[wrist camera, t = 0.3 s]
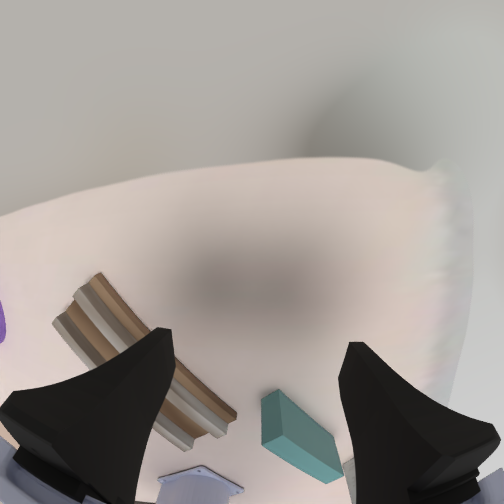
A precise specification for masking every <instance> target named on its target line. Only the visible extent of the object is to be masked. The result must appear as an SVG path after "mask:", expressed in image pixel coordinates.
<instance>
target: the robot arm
mask: <svg viewBox="0 0 504 504" xmlns="http://www.w3.org/2000/svg"><path fill="white" fill-rule="evenodd" d="M175 368H176V362H175V355H174V348H173V340H172V331H171V329H166V328H159V327H157V328H156V329H154V330H153V331H151V332H150V333H149V334H147V335H146V336H144V337H143V338H142V339H140V340H139V341H137V342H136V343H135V344H133V345H132V346H130V347H129V348H127V349H126V350H125V351H123V352H122V353H120V354H118V355H117V356H115V357H113V358H112V359H110V360H109V361H107V362H105V363H104V364H102V365H100V366H98V367H96V368H94V369H92V370H90V371H88V372H86V373H84V374H81V375H79V376H76V377H73V378H71V379H68V380H65V381H63V382H59V383H56V384H52V385H48V386H44V387H40V388H34V389H27V390H20V391H13V392H12V393H11V395H10V396H9V397H8V398H7V399H6V401H5V402H4V403H3V404H2V405H1V407H0V421H1V423H2V424H3V425H4V427H5V428H6V429H7V430H8V432H9V433H10V434H11V435H12V437H13V438H14V439H15V440H16V441H17V442H18V444H19V445H20V447H19V448H18V450H17V449H15V448H14V447H13V446H12V445H11V444H10V443H9V442H7V441H6V440H5V439H3V438H2V437H1V436H0V501H1V502H2V503H3V504H134V502H135V495H136V489H137V483H138V478H139V473H140V468H141V464H142V460H143V456H144V452H145V449H146V445H147V442H148V438H149V435H150V432H151V429H152V427H153V424H154V422H155V420H156V417H157V415H158V413H159V411H160V408H161V406H162V404H163V402H164V400H165V397H166V395H167V393H168V390H169V388H170V386H171V382H172V379H173V376H174V372H175ZM338 381H339V390H340V397H341V402H342V406H343V409H344V413H345V417H346V421H347V424H348V428H349V432H350V436H351V440H352V445H353V452H354V462H355V475H356V504H504V471H503V469H502V468H499V469H498V470H496V471H495V472H493V473H492V474H490V475H488V476H486V477H485V478H483V479H482V480H480V481H479V482H477V480H476V477H477V476H478V475H479V471H478V467H479V466H480V465H481V464H482V463H483V462H484V461H485V460H486V459H487V458H488V457H489V456H490V455H491V454H492V453H493V452H494V451H495V450H496V448H497V447H498V446H499V444H500V441H501V439H500V437H499V435H498V433H497V431H496V429H495V427H494V426H493V424H490V423H487V422H483V421H479V420H476V419H473V418H470V417H467V416H465V415H462V414H460V413H457V412H455V411H453V410H451V409H449V408H447V407H445V406H443V405H441V404H439V403H437V402H436V401H434V400H432V399H431V398H429V397H428V396H426V395H425V394H423V393H422V392H420V391H419V390H417V389H416V388H414V387H413V386H412V385H411V384H409V383H408V382H407V381H406V380H404V379H403V378H402V377H401V376H400V375H398V374H397V373H396V372H395V371H394V370H393V369H392V368H391V367H390V366H388V365H387V364H386V363H385V362H384V361H383V360H382V359H381V358H380V357H379V356H378V355H377V354H376V353H375V352H374V351H373V350H372V349H371V348H369V347H368V346H367V345H366V344H365V343H364V342H349V345H348V348H347V352H346V355H345V358H344V361H343V364H342V368H341V371H340V374H339V377H338ZM157 481H158V482H160V483H161V484H162V485H161V489H160V492H159V495H158V498H157V501H156V504H229V496H232V495H235V494H239V493H243V492H244V489H243V488H241V487H239V486H237V485H235V484H233V483H231V482H229V481H228V480H226V479H224V478H222V477H220V476H219V475H217V474H215V473H214V472H212V471H210V470H209V469H207V468H205V467H203V466H200V467H196V468H193V469H190V470H187V471H183V472H180V473H176V474H173V475H169V476H165V477H161V478H158V480H157Z"/></svg>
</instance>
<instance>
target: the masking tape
mask: <svg viewBox="0 0 504 504" xmlns="http://www.w3.org/2000/svg"><path fill="white" fill-rule="evenodd" d="M5 334H6V324H5V317H4V313H3V309H2V305H1V302H0V343H2V342H3V340H4V338H5Z"/></svg>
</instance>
